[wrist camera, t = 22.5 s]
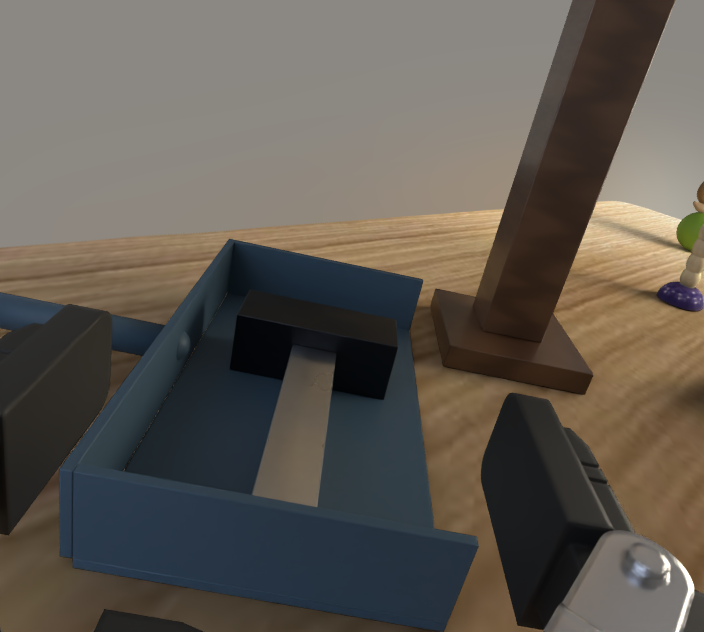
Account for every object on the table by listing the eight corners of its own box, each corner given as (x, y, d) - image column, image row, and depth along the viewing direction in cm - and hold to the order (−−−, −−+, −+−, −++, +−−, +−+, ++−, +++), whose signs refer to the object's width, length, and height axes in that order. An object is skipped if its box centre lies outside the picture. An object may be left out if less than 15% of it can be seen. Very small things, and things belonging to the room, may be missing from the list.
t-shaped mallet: (388, 578, 20) (411, 508, 19) (154, 535, 20) (161, 461, 18) (383, 369, 33) (396, 318, 32) (242, 341, 32) (249, 288, 31)
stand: (437, 377, 34) (698, -446, 20) (423, 302, 44) (590, -284, 30) (601, 410, 35) (965, -368, 21) (550, 328, 45) (773, -235, 31)
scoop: (407, 332, 39) (422, 279, 37) (443, 632, 19) (479, 545, 17) (70, 264, 38) (70, 205, 36) (-268, 509, 18) (-301, 403, 16)
